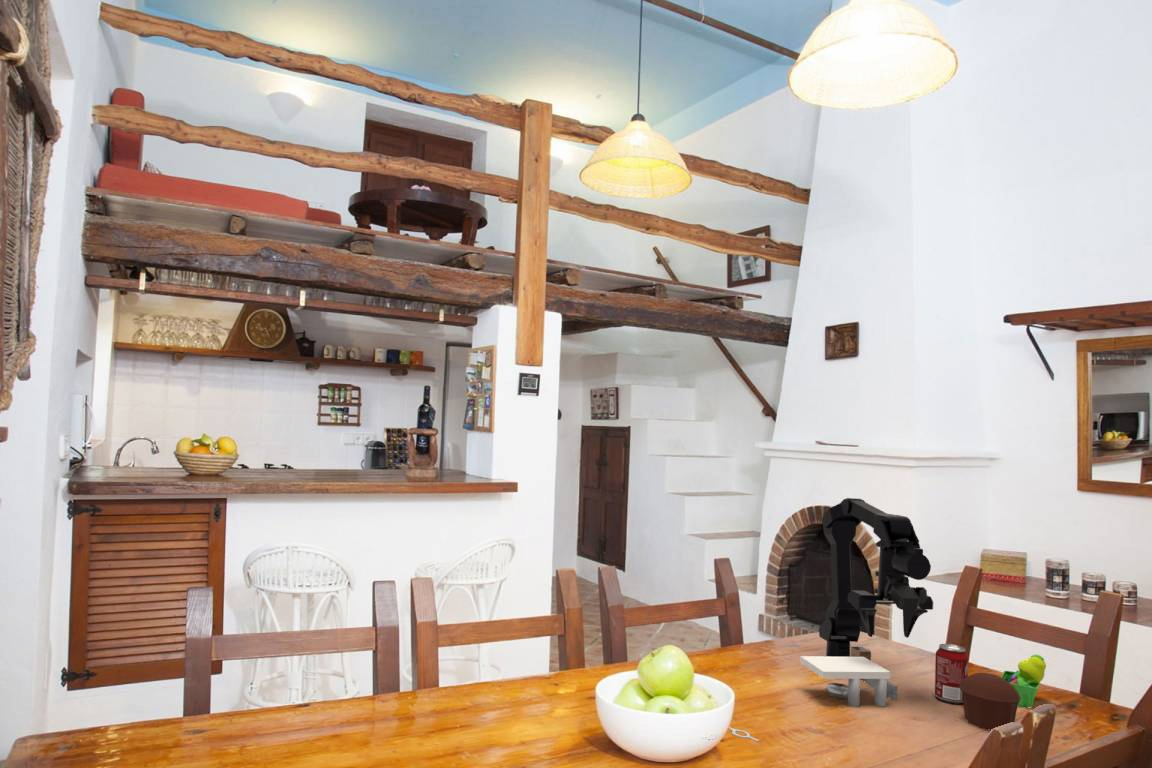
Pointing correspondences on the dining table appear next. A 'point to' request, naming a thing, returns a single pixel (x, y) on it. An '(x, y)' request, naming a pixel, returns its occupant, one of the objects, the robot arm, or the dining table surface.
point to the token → (837, 690)
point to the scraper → (890, 687)
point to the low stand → (850, 674)
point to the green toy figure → (1027, 679)
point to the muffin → (989, 700)
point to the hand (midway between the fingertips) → (888, 636)
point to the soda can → (950, 672)
